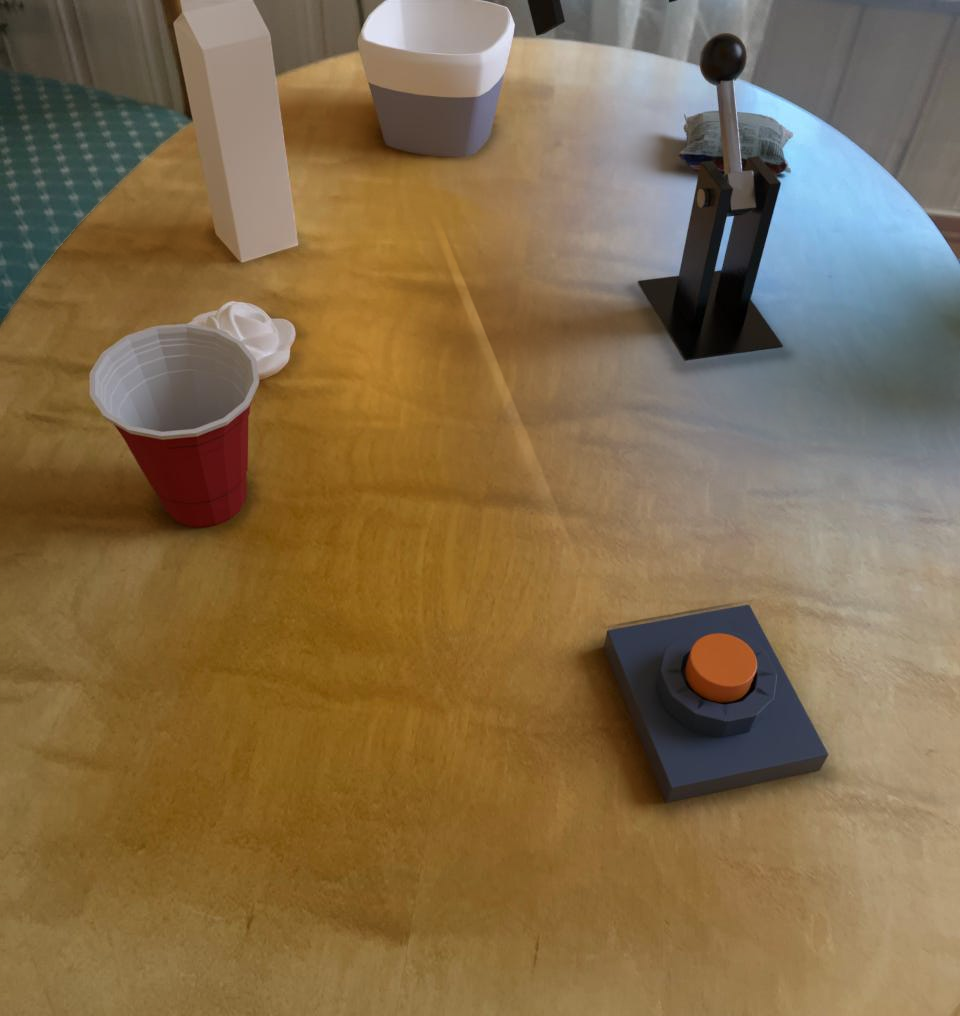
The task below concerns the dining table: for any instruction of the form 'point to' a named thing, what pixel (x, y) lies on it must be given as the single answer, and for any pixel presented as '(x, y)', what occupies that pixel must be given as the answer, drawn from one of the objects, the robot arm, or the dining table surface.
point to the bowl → (436, 72)
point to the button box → (710, 708)
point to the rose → (253, 333)
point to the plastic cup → (182, 415)
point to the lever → (729, 114)
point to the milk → (237, 124)
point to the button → (720, 667)
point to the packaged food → (754, 137)
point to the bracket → (718, 294)
